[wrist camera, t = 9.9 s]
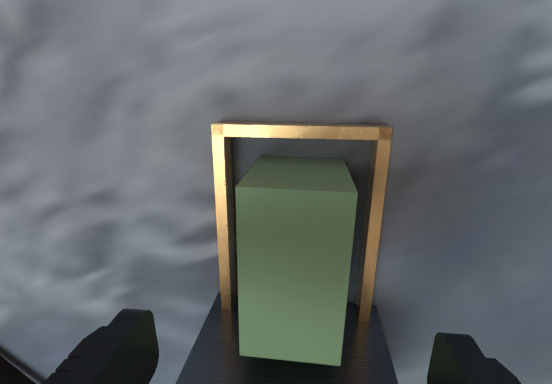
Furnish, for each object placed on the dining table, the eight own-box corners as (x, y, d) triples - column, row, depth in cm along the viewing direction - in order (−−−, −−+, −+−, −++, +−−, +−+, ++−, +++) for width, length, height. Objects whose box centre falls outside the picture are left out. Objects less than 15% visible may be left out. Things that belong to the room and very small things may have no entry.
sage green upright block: (261, 155, 17) (235, 186, 12) (343, 158, 17) (357, 192, 11) (261, 279, 20) (239, 355, 14) (332, 285, 19) (340, 366, 14)
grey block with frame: (208, 120, 17) (140, 141, 10) (399, 124, 16) (458, 149, 9) (221, 354, 22) (182, 467, 15) (368, 369, 21) (392, 498, 14)
